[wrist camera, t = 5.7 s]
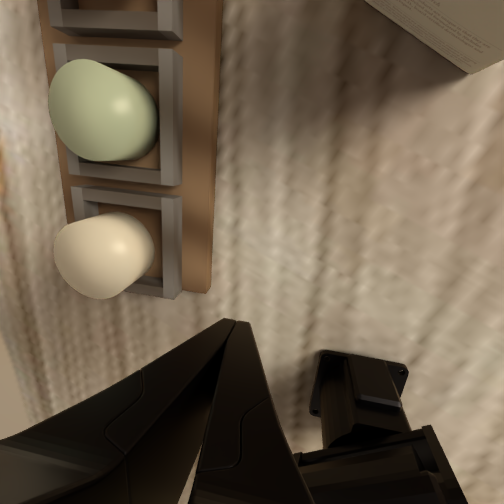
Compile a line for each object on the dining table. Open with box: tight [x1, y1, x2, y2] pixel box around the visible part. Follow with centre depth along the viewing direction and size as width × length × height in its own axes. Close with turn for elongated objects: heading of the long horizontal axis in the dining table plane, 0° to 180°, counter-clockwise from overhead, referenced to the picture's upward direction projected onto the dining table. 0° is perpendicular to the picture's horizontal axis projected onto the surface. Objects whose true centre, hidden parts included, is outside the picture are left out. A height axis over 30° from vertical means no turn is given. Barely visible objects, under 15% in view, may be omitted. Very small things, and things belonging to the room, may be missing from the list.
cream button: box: [53, 212, 155, 299], centre depth 18 cm, size 5×5×3 cm
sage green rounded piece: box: [48, 59, 160, 161], centre depth 16 cm, size 5×5×3 cm
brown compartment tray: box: [37, 0, 223, 300], centre depth 18 cm, size 23×11×3 cm, turn 175°
